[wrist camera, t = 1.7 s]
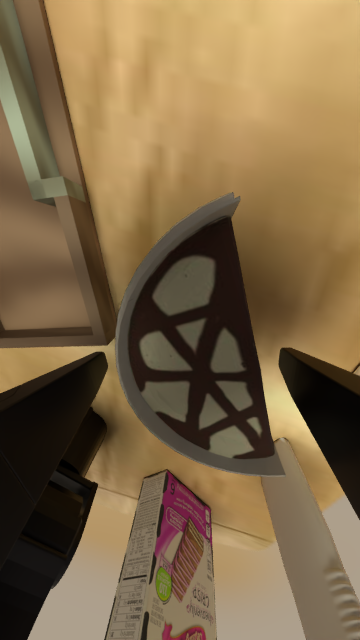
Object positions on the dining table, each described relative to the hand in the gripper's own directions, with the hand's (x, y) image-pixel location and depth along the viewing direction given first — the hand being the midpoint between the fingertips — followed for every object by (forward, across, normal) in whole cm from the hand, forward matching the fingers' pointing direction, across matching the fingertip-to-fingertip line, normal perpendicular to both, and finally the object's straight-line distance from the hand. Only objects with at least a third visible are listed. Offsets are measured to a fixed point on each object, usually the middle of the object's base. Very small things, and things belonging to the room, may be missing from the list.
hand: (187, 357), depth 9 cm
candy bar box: (+8, +4, +29) cm, 30 cm away
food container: (+8, 0, 0) cm, 8 cm away
